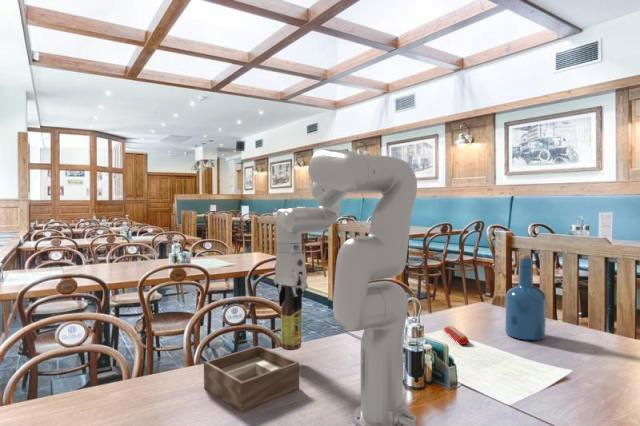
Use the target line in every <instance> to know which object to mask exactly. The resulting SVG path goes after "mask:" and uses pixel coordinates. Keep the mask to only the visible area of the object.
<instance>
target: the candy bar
mask: <svg viewBox="0 0 640 426" xmlns="http://www.w3.org/2000/svg"><path fill="white" fill-rule="evenodd" d="M444 332H446V333H447V334H449V335H450V336H451V337H452V338H453V339H454V340H455V341H454V340H453V339H452V338H451V337H450V336H449V335H448V336H449V337H450V338H451V339H452V340H453V341H454V342H456V341H457V342H458V343H459V344H461V345H460V346H463V345H462V344H465V345H468V344H470V341H469V337H467V336H466V334H464V333H462V331H459V330H458V329H457V328H456V327H454V326H453V325H449V326H446V327H444ZM446 333H445V334H446ZM447 334H446V335H447ZM457 342H456V343H457ZM458 343H457V344H458ZM459 344H458V345H459Z"/></svg>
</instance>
